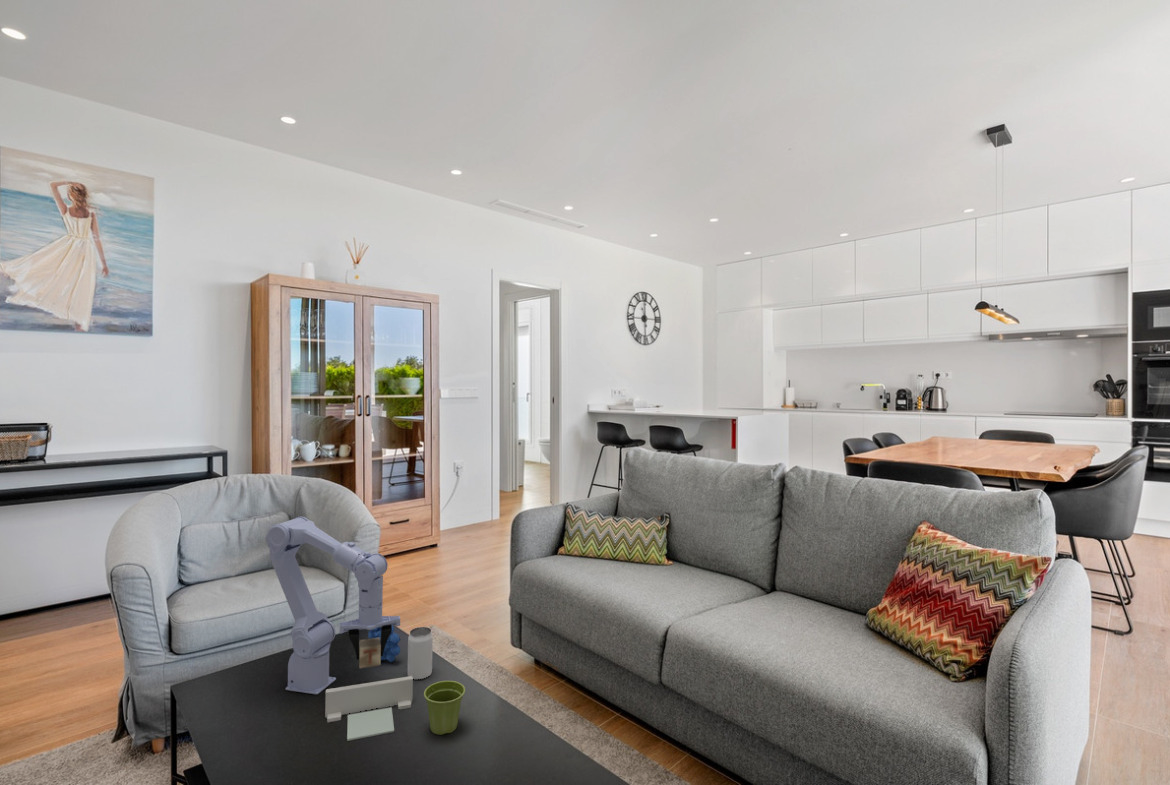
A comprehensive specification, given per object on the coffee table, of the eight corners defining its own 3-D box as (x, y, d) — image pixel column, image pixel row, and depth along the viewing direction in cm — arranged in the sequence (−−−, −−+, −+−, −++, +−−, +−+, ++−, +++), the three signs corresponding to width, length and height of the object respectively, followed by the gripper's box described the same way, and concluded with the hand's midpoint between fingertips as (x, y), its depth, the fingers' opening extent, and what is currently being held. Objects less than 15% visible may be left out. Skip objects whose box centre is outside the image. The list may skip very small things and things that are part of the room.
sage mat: (347, 740, 131) (347, 739, 131) (347, 716, 140) (347, 714, 140) (394, 732, 134) (394, 730, 134) (391, 708, 144) (391, 707, 144)
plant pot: (472, 720, 139) (472, 684, 139) (450, 743, 130) (451, 705, 130) (438, 712, 142) (438, 677, 142) (414, 734, 134) (415, 697, 133)
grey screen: (324, 722, 137) (325, 697, 137) (326, 709, 143) (326, 684, 143) (413, 707, 144) (413, 683, 144) (411, 694, 150) (411, 671, 150)
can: (435, 669, 163) (436, 627, 163) (426, 681, 157) (427, 637, 157) (413, 667, 164) (413, 625, 164) (403, 679, 158) (404, 635, 157)
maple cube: (359, 668, 146) (359, 649, 146) (359, 659, 151) (359, 640, 151) (380, 665, 148) (380, 646, 148) (379, 656, 153) (380, 637, 153)
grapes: (357, 661, 167) (357, 620, 166) (375, 652, 173) (375, 611, 172) (387, 671, 162) (388, 628, 161) (405, 661, 168) (406, 619, 167)
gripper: (339, 613, 143) (338, 668, 143) (401, 606, 148) (400, 659, 149) (340, 602, 150) (339, 655, 150) (399, 596, 155) (398, 646, 155)
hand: (369, 656), depth 150 cm, fingers closed on maple cube, 5 cm apart
